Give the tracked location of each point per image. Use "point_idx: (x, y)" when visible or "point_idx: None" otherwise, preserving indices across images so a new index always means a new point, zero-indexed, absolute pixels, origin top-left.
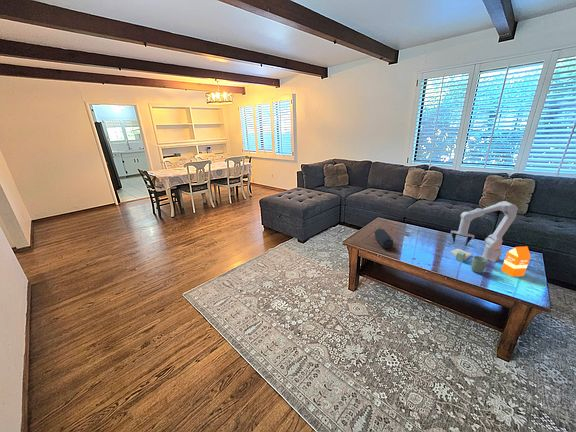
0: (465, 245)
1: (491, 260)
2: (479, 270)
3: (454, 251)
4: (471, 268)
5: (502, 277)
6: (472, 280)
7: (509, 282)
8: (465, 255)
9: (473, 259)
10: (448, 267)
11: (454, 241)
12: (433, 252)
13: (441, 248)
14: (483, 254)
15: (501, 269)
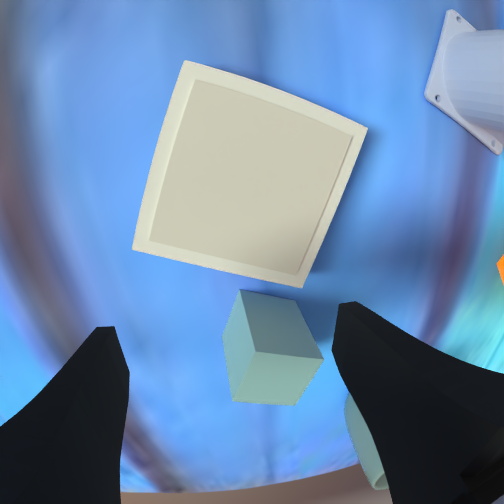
0: (337, 359)
1: (488, 146)
2: None
3: (167, 216)
4: (344, 411)
5: (470, 345)
6: (335, 459)
7: (476, 363)
8: (307, 245)
9: (368, 479)
10: (214, 449)
11: (125, 413)
12: (21, 319)
13: (17, 152)
14: (461, 87)
15: (500, 266)
